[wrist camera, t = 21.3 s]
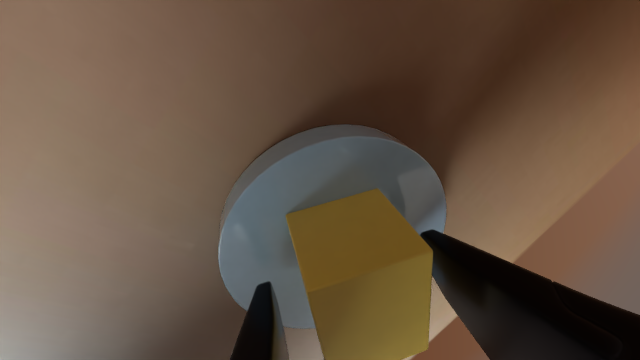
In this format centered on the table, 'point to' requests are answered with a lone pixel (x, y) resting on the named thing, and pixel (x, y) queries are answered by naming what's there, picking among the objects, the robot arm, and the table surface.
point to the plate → (315, 204)
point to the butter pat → (364, 277)
